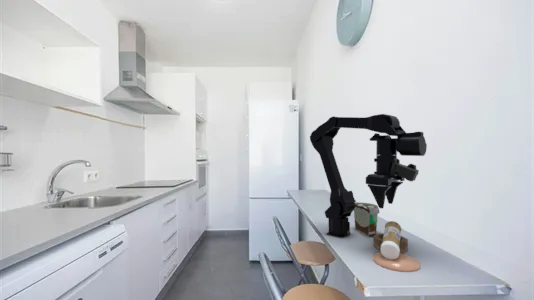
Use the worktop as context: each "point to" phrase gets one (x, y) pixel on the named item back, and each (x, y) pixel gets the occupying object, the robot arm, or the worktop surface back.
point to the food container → (366, 218)
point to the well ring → (379, 239)
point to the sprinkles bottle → (391, 240)
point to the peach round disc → (398, 263)
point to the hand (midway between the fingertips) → (386, 205)
